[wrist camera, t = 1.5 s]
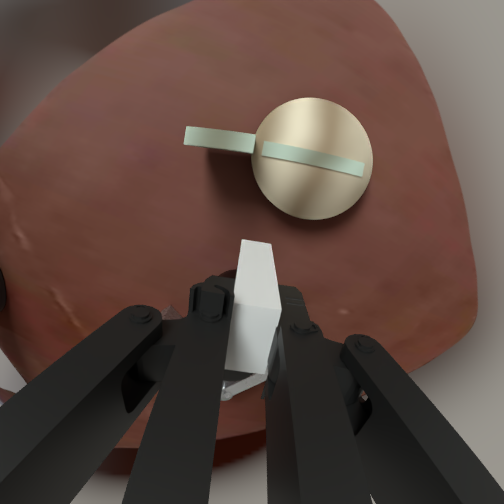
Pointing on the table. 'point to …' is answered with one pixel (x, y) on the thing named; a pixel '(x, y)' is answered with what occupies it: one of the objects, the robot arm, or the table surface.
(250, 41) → the table surface
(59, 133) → the table surface
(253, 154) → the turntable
